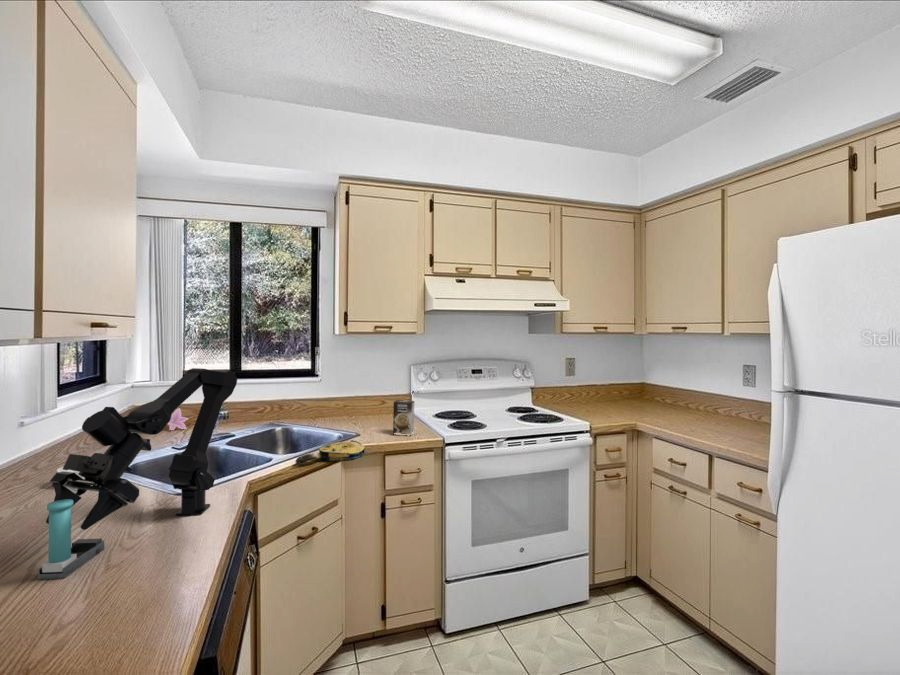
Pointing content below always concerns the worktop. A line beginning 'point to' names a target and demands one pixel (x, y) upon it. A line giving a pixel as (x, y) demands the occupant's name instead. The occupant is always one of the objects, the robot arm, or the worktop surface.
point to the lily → (177, 420)
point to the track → (84, 553)
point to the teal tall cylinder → (59, 536)
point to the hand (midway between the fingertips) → (65, 526)
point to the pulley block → (336, 452)
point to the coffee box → (403, 417)
